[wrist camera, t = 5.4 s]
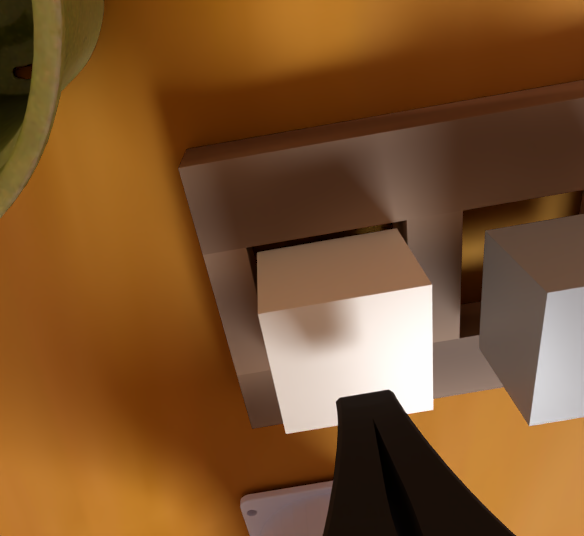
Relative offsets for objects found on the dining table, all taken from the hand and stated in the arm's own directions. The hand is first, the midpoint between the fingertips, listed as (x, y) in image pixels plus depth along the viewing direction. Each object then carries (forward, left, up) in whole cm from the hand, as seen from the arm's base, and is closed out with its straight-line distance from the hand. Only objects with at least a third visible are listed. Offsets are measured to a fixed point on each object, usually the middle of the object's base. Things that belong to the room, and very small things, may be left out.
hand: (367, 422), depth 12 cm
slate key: (0, -7, -4) cm, 8 cm away
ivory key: (0, 0, -6) cm, 6 cm away
